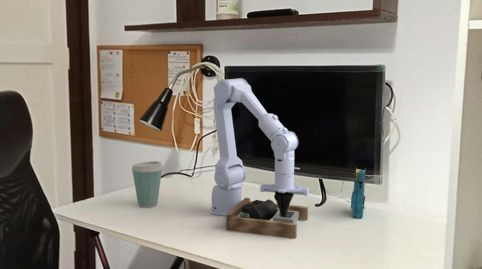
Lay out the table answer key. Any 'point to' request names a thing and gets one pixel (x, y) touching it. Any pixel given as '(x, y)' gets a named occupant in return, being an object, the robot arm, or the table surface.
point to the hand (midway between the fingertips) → (283, 216)
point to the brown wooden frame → (263, 222)
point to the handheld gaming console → (358, 195)
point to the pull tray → (290, 218)
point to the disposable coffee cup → (147, 182)
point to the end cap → (260, 210)
